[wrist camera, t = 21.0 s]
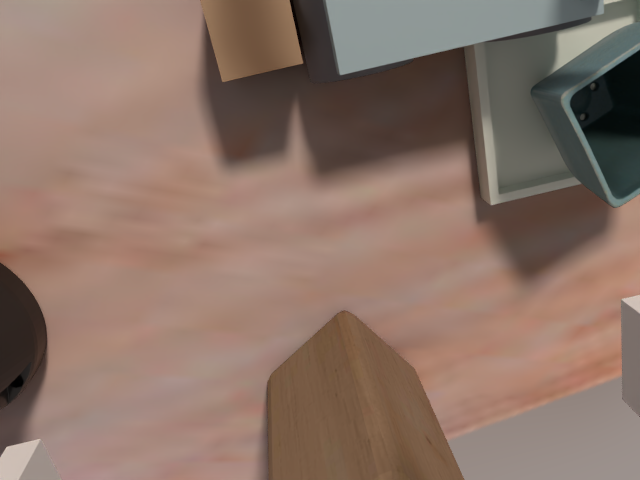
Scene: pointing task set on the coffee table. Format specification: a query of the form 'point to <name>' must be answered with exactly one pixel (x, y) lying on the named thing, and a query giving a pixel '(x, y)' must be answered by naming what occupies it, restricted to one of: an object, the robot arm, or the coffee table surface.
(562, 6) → the trolley
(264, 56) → the block
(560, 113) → the flower pot
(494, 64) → the tray
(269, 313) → the coffee table surface
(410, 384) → the wooden block
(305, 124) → the coffee table surface
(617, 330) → the coffee table surface
